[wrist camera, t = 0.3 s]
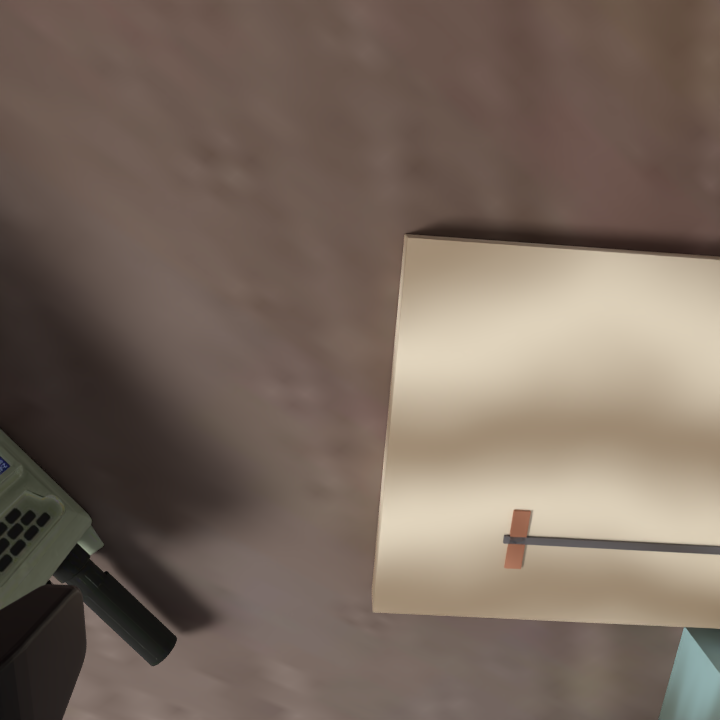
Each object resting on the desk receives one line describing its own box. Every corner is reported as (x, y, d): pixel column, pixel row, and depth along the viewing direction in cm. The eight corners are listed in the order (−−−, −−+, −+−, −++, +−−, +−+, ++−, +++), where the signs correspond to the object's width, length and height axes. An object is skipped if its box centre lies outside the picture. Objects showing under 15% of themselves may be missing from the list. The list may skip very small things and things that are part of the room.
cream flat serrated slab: (857, 614, 25) (884, 638, 23) (371, 591, 24) (372, 614, 23) (985, 275, 21) (1026, 282, 19) (404, 233, 20) (408, 238, 19)
